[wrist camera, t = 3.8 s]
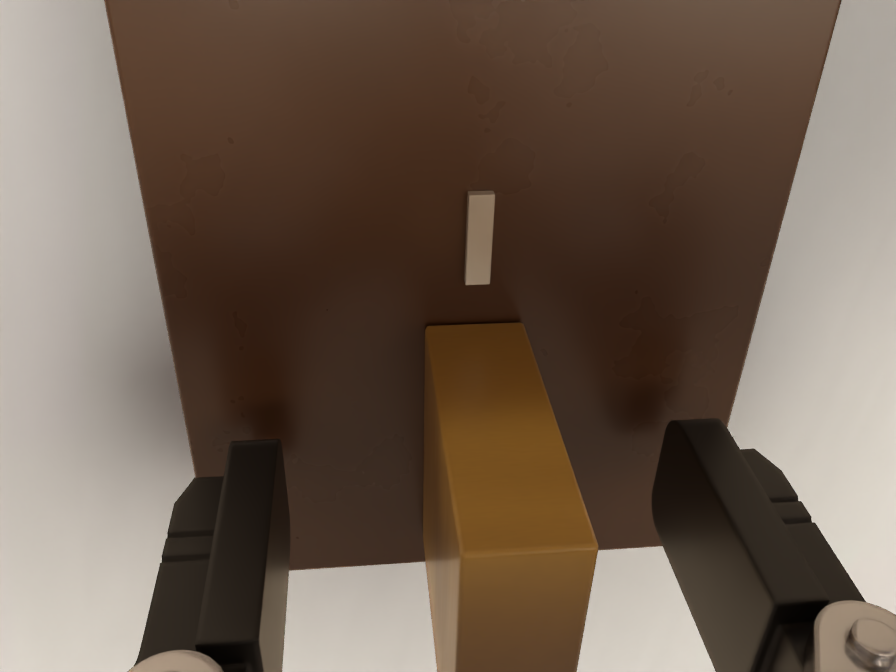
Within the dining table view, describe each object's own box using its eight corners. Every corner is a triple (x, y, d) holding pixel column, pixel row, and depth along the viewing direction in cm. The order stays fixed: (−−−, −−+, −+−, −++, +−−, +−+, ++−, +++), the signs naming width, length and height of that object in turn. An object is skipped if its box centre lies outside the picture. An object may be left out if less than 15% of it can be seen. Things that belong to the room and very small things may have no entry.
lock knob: (425, 323, 12) (462, 574, 8) (523, 320, 13) (607, 564, 9) (422, 537, 15) (451, 806, 11) (505, 531, 15) (562, 795, 11)
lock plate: (122, -229, 11) (53, -233, 8) (781, -209, 12) (907, -208, 9) (239, 510, 18) (221, 632, 16) (639, 487, 19) (687, 599, 16)
